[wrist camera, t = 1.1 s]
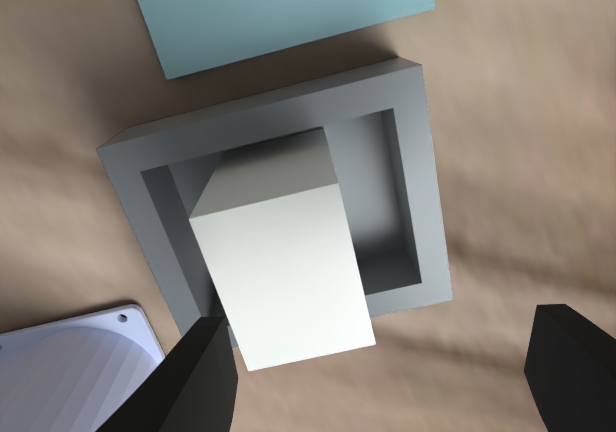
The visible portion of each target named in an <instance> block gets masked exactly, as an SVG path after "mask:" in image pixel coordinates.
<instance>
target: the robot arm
mask: <svg viewBox="0 0 616 432" xmlns="http://www.w3.org/2000/svg"><path fill="white" fill-rule="evenodd" d="M120 314H123V315H126V317H127V318H124V317H122V316H121V315H120ZM524 373H525V375H526V378H527V381H528V384H529V387H530V390H531V392H532V395H533V398H534V400H535V403H536V406H537V408H538V411H539V413H540V416H541V418H542V420H543V422H544V424H545V426H546V428H547V430H548V432H616V339H614V338H613V337H612V336H610V335H609V334H607V333H606V332H605V331H603V330H602V329H600V328H599V327H598V326H596V325H595V324H593V323H592V322H591V321H589V320H588V319H586V318H585V317H584V316H582V315H581V314H579V313H578V312H576V311H575V310H573V309H572V308H570V307H569V306H567V305H566V304H548V305H537V307H536V312H535V317H534V322H533V327H532V332H531V337H530V342H529V347H528V352H527V357H526V362H525V368H524ZM237 383H238V374H237V370H236V365H235V360H234V355H233V351H232V346H231V341H230V336H229V332H228V327H227V322H226V317H225V316H209V317H200V318H199V319H198V320H197V321H196V322H195V323H194V324H193V326H192V327H191V328H190V329H189V330H188V331H187V332H186V334H185V335H184V336H183V337H182V338H181V340H180V341H179V342H178V343H177V344H176V345H175V347H174V348H173V349H172V350H171V351H170V352H169V354H168V355H167V356H166V357H165V355H164V353H163V350H162V348H161V346H160V344H159V342H158V340H157V338H156V336H155V334H154V332H153V330H152V328H151V326H150V324H149V322H148V320H147V318H146V316H145V314H144V312H143V310H142V308H141V307H139V306H138V305H134V304H130V305H125V306H121V307H117V308H112V309H108V310H103V311H99V312H95V313H90V314H86V315H82V316H77V317H73V318H68V319H64V320H60V321H55V322H51V323H47V324H42V325H38V326H33V327H29V328H25V329H20V330H16V331H12V332H7V333H3V334H0V432H229V430H230V427H231V423H232V418H233V411H234V405H235V398H236V391H237Z"/></svg>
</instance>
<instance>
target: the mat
mask: <svg viewBox="0 0 616 432" xmlns="http://www.w3.org/2000/svg"><path fill="white" fill-rule="evenodd" d="M138 3H139V5H140V8H141V11H142V14H143V16H144V19H145V22H146V25H147V27H148V30H149V33H150V36H151V38H152V41H153V44H154V47H155V49H156V52H157V55H158V57H159V60H160V63H161V66H162V68H163V71H164V74H165V77H166V79H167V80H169V79H173V78H177V77H180V76H184V75H188V74H192V73H195V72H199V71H203V70H207V69H210V68H214V67H218V66H222V65H225V64H229V63H233V62H237V61H240V60H244V59H248V58H252V57H255V56H259V55H263V54H267V53H270V52H274V51H278V50H282V49H285V48H289V47H293V46H297V45H300V44H304V43H308V42H312V41H315V40H319V39H323V38H327V37H330V36H334V35H338V34H342V33H345V32H349V31H353V30H357V29H360V28H364V27H368V26H372V25H375V24H379V23H383V22H387V21H390V20H394V19H398V18H402V17H405V16H409V15H413V14H417V13H420V12H424V11H428V10H432V9H435V2H434V0H138Z"/></svg>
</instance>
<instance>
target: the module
mask: <svg viewBox="0 0 616 432" xmlns="http://www.w3.org/2000/svg"><path fill="white" fill-rule="evenodd" d="M189 222H190V224H191V227H192V229H193V232H194V234H195V237H196V239H197V242H198V244H199V247H200V249H201V252H202V254H203V257H204V260H205V262H206V265H207V267H208V270H209V272H210V275H211V277H212V280H213V282H214V285H215V287H216V290H217V292H218V295H219V297H220V300H221V302H222V305H223V308H224V310H225V313H226V315H227V318H228V320H229V323H230V325H231V328H232V330H233V333H234V335H235V338H236V340H237V343H238V345H239V348H240V350H241V353H242V356H243V358H244V361H245V363H246V366H247V368H248V371H252V370H257V369H262V368H266V367H271V366H276V365H281V364H285V363H290V362H295V361H299V360H304V359H309V358H314V357H318V356H323V355H328V354H332V353H337V352H342V351H347V350H351V349H356V348H361V347H365V346H370V345H375V344H376V343H375V339H374V334H373V330H372V326H371V321H370V317H369V313H368V308H367V304H366V300H365V295H364V291H363V287H362V282H361V278H360V274H359V270H358V265H357V261H356V257H355V252H354V248H353V244H352V239H351V235H350V231H349V226H348V222H347V218H346V213H345V209H344V205H343V200H342V196H341V192H340V188H339V183H338V179H337V176H336V172H335V168H334V165H333V161H332V157H331V153H330V150H329V146H328V142H327V138H326V135H325V131H324V128H322V129H318V130H314V131H310V132H306V133H302V134H298V135H294V136H290V137H286V138H282V139H278V140H274V141H270V142H266V143H262V144H258V145H254V146H250V147H246V148H242V149H238V150H234V151H230V152H226V153H224V154H223V156H222V157H221V159H220V161H219V163H218V165H217V167H216V169H215V171H214V172H213V174H212V176H211V178H210V180H209V182H208V184H207V186H206V187H205V189H204V191H203V193H202V195H201V197H200V199H199V201H198V202H197V204H196V206H195V208H194V210H193V212H192V214H191V215H190V217H189Z"/></svg>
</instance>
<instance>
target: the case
mask: <svg viewBox="0 0 616 432" xmlns="http://www.w3.org/2000/svg"><path fill="white" fill-rule="evenodd" d="M322 128H324V131H325V135H326V138H327V142H328V146H329V150H330V153H331V157H332V161H333V165H334V168H335V172H336V176H337V179H338V183H339V188H340V192H341V196H342V200H343V205H344V209H345V213H346V218H347V222H348V226H349V231H350V235H351V239H352V244H353V248H354V252H355V257H356V261H357V265H358V270H359V274H360V278H361V282H362V287H363V291H364V295H365V300H366V304H367V308H368V313H369V317H370V318H371V317H376V316H380V315H385V314H390V313H394V312H399V311H403V310H408V309H413V308H417V307H422V306H426V305H431V304H436V303H440V302H445V301H449V300H453V295H452V287H451V280H450V272H449V265H448V257H447V250H446V242H445V235H444V227H443V220H442V212H441V204H440V197H439V189H438V182H437V174H436V167H435V159H434V152H433V144H432V137H431V129H430V122H429V114H428V107H427V99H426V91H425V84H424V76H423V69H422V65H421V64H418V63H415V62H412V61H410V60H407V59H404V58H401V57H398V58H394V59H390V60H387V61H383V62H379V63H375V64H371V65H367V66H363V67H360V68H356V69H352V70H348V71H344V72H340V73H337V74H333V75H329V76H325V77H321V78H317V79H313V80H310V81H306V82H302V83H298V84H294V85H290V86H287V87H283V88H279V89H275V90H271V91H267V92H263V93H260V94H256V95H252V96H248V97H244V98H240V99H237V100H233V101H229V102H225V103H221V104H217V105H213V106H210V107H206V108H202V109H198V110H194V111H190V112H187V113H183V114H179V115H175V116H171V117H167V118H163V119H160V120H156V121H152V122H148V123H144V124H140V125H137V126H133V127H129V128H127V129H126V130H124V131H123V132H121V133H120V134H118V135H116V136H115V137H113V138H112V139H110V140H109V141H107V142H106V143H104V144H103V145H101V146H99V147H98V148H96V151H97V153H98V155H99V157H100V159H101V162H102V164H103V166H104V168H105V170H106V172H107V175H108V177H109V179H110V181H111V183H112V186H113V188H114V190H115V192H116V194H117V196H118V199H119V201H120V203H121V205H122V207H123V210H124V212H125V214H126V216H127V218H128V220H129V223H130V225H131V227H132V229H133V231H134V234H135V236H136V238H137V240H138V242H139V244H140V247H141V249H142V251H143V253H144V255H145V258H146V260H147V262H148V264H149V266H150V268H151V271H152V273H153V275H154V277H155V279H156V281H157V284H158V286H159V288H160V290H161V292H162V295H163V297H164V299H165V301H166V303H167V305H168V308H169V310H170V312H171V314H172V316H173V319H174V321H175V323H176V325H177V327H178V329H179V332H180V334H181V336H182V337H183V336H184V335H185V334H186V332H187V331H188V330H189V329H190V328H191V327H192V326H193V324H194V323H195V322H196V321H197V320H198V319H199V318H200V317H209V316H225V317H226V322H227V327H228V332H229V336H230V341H231V346H232V348H233V347H237V346H239V345H238V343H237V340H236V338H235V335H234V333H233V330H232V328H231V325H230V323H229V320H228V318H227V315H226V313H225V310H224V308H223V305H222V302H221V300H220V297H219V295H218V292H217V290H216V287H215V285H214V282H213V280H212V277H211V275H210V272H209V270H208V267H207V265H206V262H205V260H204V257H203V254H202V252H201V249H200V247H199V244H198V242H197V239H196V237H195V234H194V232H193V229H192V227H191V224H190V222H189V217H190V215H191V214H192V212H193V210H194V208H195V206H196V204H197V202H198V201H199V199H200V197H201V195H202V193H203V191H204V189H205V187H206V186H207V184H208V182H209V180H210V178H211V176H212V174H213V172H214V171H215V169H216V167H217V165H218V163H219V161H220V159H221V157H222V156H223V154H224V153H226V152H230V151H234V150H238V149H242V148H246V147H250V146H254V145H258V144H262V143H266V142H270V141H274V140H278V139H282V138H286V137H290V136H294V135H298V134H302V133H306V132H310V131H314V130H318V129H322Z"/></svg>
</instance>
